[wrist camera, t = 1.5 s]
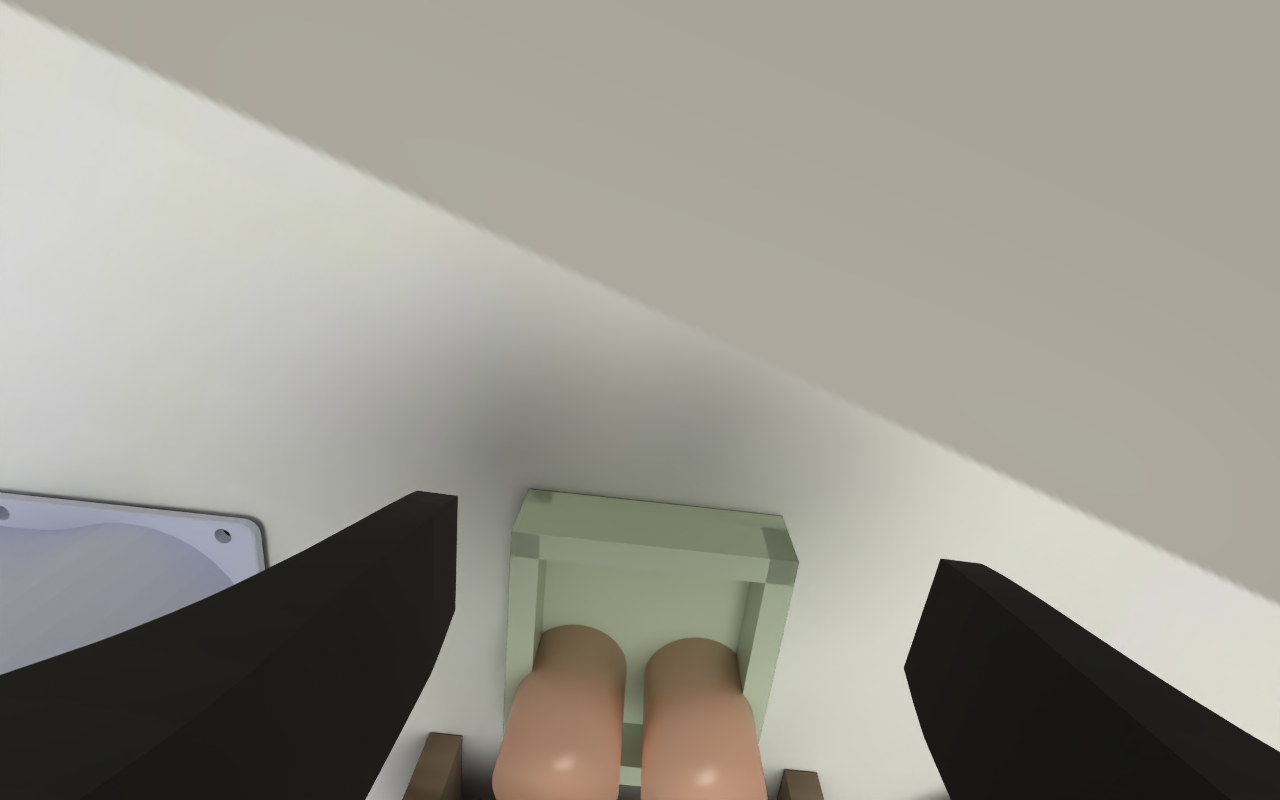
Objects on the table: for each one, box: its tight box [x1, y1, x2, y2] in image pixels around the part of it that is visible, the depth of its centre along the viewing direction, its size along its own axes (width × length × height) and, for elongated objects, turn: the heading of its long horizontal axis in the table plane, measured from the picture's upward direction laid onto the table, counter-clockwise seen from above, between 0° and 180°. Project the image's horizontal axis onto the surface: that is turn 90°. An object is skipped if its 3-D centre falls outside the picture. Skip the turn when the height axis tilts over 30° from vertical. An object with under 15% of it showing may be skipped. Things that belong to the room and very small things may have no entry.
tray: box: [492, 489, 799, 800], centre depth 19 cm, size 8×9×5 cm
